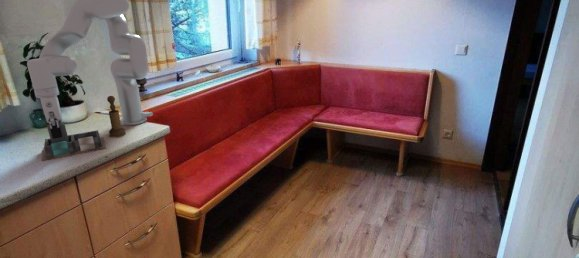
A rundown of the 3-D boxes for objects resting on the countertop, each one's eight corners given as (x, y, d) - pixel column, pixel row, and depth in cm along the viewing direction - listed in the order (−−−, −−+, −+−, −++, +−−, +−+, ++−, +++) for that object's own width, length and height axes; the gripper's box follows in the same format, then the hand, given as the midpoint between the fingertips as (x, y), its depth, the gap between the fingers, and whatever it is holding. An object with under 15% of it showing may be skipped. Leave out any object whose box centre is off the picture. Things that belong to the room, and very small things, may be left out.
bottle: (73, 146, 142) (65, 111, 137) (63, 152, 136) (54, 116, 131) (60, 146, 142) (51, 111, 137) (50, 152, 137) (40, 116, 132)
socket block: (103, 138, 152) (100, 126, 150) (106, 148, 141) (103, 135, 139) (43, 148, 141) (40, 136, 140) (42, 161, 130) (38, 147, 128)
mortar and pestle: (129, 132, 158) (122, 94, 152) (119, 137, 152) (111, 98, 146) (117, 131, 160) (109, 93, 154) (106, 136, 154) (98, 97, 148)
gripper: (58, 95, 126) (69, 138, 131) (58, 86, 139) (68, 126, 145) (33, 98, 122) (45, 142, 128) (36, 88, 136) (47, 129, 142)
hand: (57, 133), depth 136 cm, fingers open, 9 cm apart
